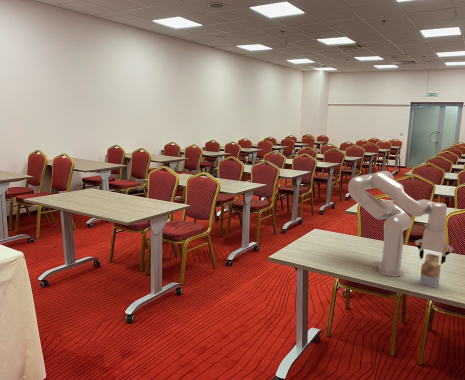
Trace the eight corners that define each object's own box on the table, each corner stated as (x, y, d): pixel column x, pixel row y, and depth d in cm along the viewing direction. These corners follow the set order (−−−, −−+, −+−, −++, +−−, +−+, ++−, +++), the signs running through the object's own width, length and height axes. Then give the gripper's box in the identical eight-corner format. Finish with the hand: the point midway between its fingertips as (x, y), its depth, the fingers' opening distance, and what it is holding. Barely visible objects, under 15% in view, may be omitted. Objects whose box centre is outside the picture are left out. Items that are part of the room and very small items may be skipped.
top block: (420, 274, 197) (421, 265, 196) (424, 270, 202) (425, 261, 201) (435, 278, 193) (436, 268, 192) (439, 274, 198) (440, 265, 197)
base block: (419, 283, 198) (421, 274, 197) (423, 279, 203) (425, 270, 202) (435, 288, 194) (436, 278, 193) (438, 283, 199) (439, 274, 198)
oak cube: (424, 265, 196) (425, 255, 195) (427, 262, 200) (428, 253, 199) (435, 267, 193) (436, 258, 192) (438, 265, 197) (439, 255, 196)
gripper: (414, 225, 196) (411, 258, 199) (453, 232, 184) (449, 267, 188) (419, 222, 201) (415, 254, 204) (457, 229, 190) (452, 263, 193)
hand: (431, 260), depth 196 cm, fingers open, 9 cm apart
